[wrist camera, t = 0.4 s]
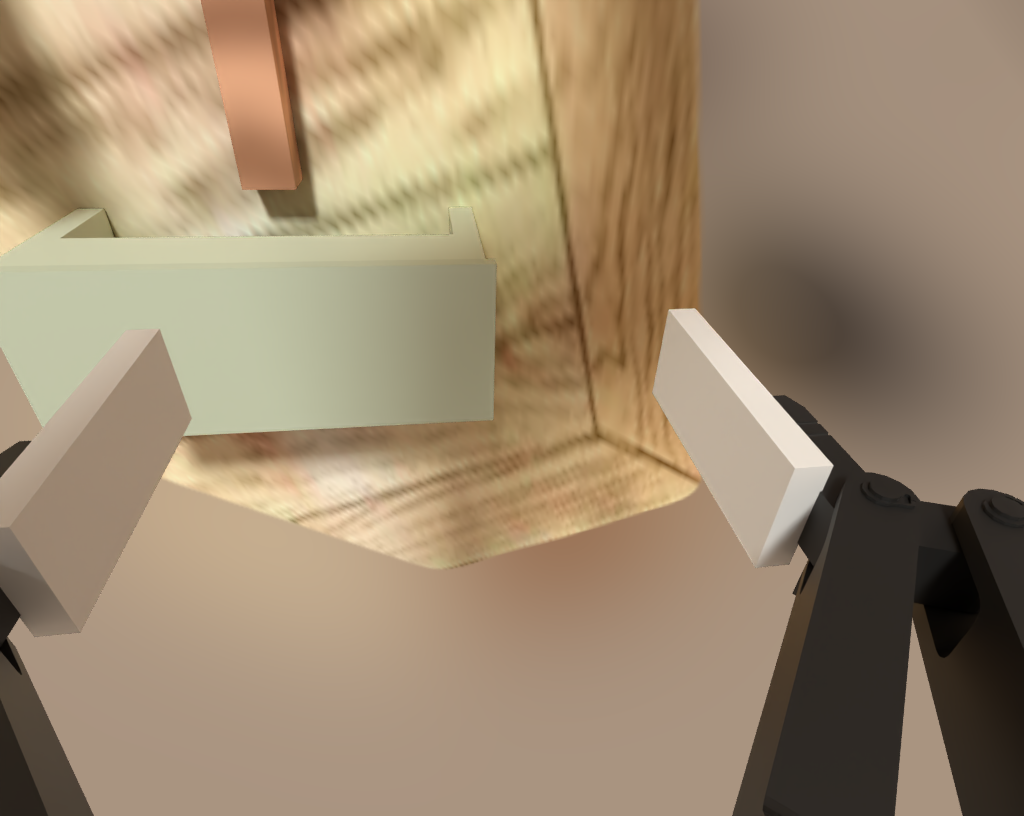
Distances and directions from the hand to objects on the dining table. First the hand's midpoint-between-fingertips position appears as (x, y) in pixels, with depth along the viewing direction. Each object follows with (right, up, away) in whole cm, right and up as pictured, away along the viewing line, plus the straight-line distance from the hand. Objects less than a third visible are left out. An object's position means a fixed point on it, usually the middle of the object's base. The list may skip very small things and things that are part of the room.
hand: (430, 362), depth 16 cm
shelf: (-13, +7, +24) cm, 28 cm away
